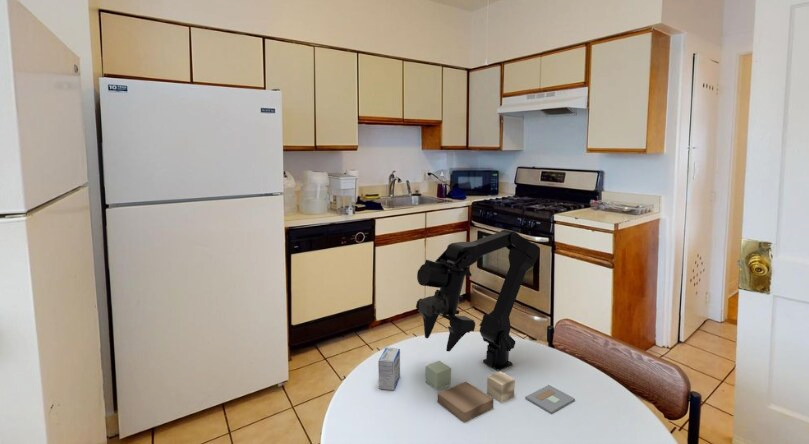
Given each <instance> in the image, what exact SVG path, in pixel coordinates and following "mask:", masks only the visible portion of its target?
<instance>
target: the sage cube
mask: <svg viewBox="0 0 809 444" xmlns="http://www.w3.org/2000/svg"><path fill="white" fill-rule="evenodd" d="M451 379H452V367H450V366H449V365H447V364H445V363H444V362H442V361H441V360H438V361H435V362H432V363H430V364H427V365H425V383H427V384H428V385H429V386H431V387H432V388H433V389H435V390H436V391H437V390H440V389H442V388H445V387H447V386H451V384H452V383H451V382H452V381H451Z"/></svg>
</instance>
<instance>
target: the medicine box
mask: <svg viewBox="0 0 809 444" xmlns="http://www.w3.org/2000/svg"><path fill="white" fill-rule="evenodd" d="M383 350H384V351H383V352H382V353H381V356H380V357H379V359H378V363H377V364H378V365H377V368H378V370H377V371H378V389H379V390H387V391H395V389H396V387H397V385H398V381H399V379H400V378H401V349H400V348H398V347H384V349H383Z"/></svg>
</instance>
